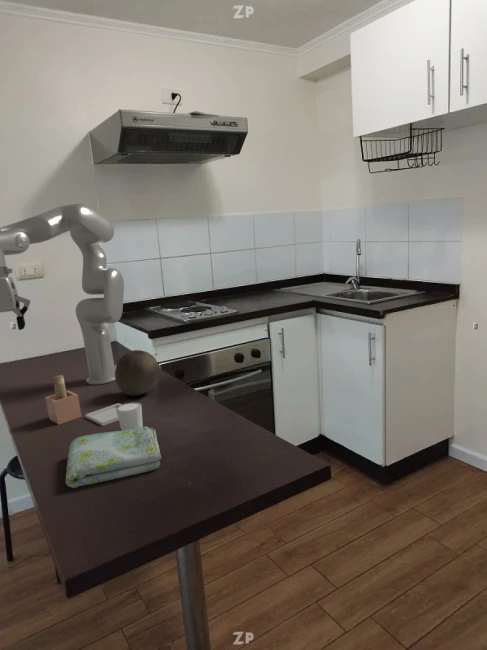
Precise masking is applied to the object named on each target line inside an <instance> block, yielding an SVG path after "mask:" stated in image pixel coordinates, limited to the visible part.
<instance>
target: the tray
mask: <svg viewBox="0 0 487 650" xmlns="http://www.w3.org/2000/svg"><path fill="white" fill-rule="evenodd" d="M121 405H123V404H122V403H119V402H118V403H115V404H112V405H109V406H106V407H103V408H101V409H97V410H95V411H92V412H89V413H86V414H85V418H86V419H88V420H90V421H92V422H94V423H96V424H98V425H100V426H101V427H102V426H106V425H110V424H112V423H115V422H117V421H119V419H118V416H117V412H116V408H117V407H119V406H121Z"/></svg>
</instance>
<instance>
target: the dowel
mask: <svg viewBox="0 0 487 650" xmlns="http://www.w3.org/2000/svg"><path fill="white" fill-rule="evenodd" d="M52 381H53V382H52V383H53V388H54V392H55V394H56V399H57V400H59V399H63V398H66V397H67V394H66V391H67V389H66V384H65V378H64V374H63V375H62V374H61V375H60V374H59V375H54V376H53V377H52Z"/></svg>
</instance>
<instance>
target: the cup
mask: <svg viewBox="0 0 487 650" xmlns="http://www.w3.org/2000/svg"><path fill="white" fill-rule="evenodd" d="M66 394H67V397H66V398H63V399H59V400H57V399H56V393H55V394H52V395H49V396H45V398H44V399H45V402H46V403H45V404H46V408H47V415H48V418H49V421H52V422H53V423H55V424H57V425H62V424H64V423H68V422H70V421H73V420H76V419H79V418H81V417H83V416H82V411H81V406H80V400H79V395H78V394H77V393H75V392H73V391H71V390H66Z"/></svg>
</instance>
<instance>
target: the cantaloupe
mask: <svg viewBox="0 0 487 650" xmlns="http://www.w3.org/2000/svg"><path fill="white" fill-rule="evenodd" d="M116 366H117V367H116V370H115V378H116V380H115V381H116V384H117V386H118V388H119V390H120V391H121V392H123V393H124V394H125V395H127V396H131V397H138V396H141V395H143V394H145V393H147V392H148V391H150V389H152V387H153V386H154V384H156V382H157V380H158V376H159V373H160V367H159V363H158V361H157V359H156V358H155V356H153V354H152V353H150V352H148V351H145V350H141V349H140V350H139V349H134V350H131V351H128V352H125V353H124V354H123V355H122V356H121V357H120V358H119V360H118V361H117V364H116Z"/></svg>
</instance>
